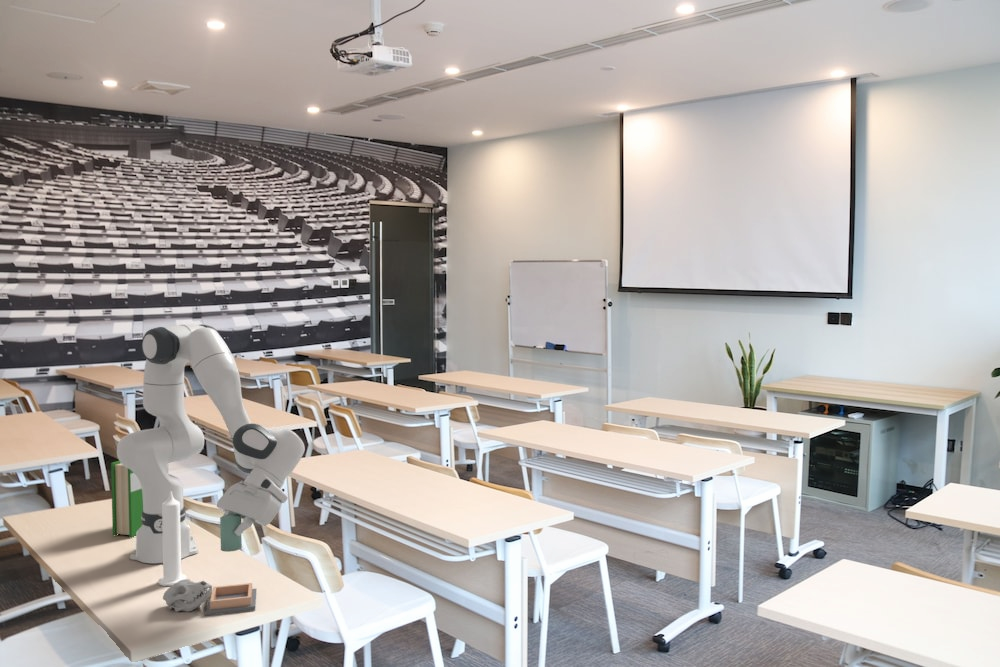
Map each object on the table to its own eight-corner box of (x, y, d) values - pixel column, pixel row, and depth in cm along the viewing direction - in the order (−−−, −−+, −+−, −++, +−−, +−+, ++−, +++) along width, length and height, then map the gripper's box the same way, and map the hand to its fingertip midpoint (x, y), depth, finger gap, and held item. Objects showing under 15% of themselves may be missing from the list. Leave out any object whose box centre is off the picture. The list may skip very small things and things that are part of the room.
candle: (176, 587, 200) (174, 495, 199) (152, 585, 202) (150, 494, 200) (191, 577, 207) (190, 488, 206) (169, 575, 209) (167, 487, 207)
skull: (172, 589, 193) (203, 560, 191) (192, 617, 191) (223, 588, 189) (151, 599, 185) (183, 569, 183) (172, 628, 184) (204, 598, 182)
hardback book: (131, 538, 240) (130, 464, 239) (112, 536, 242) (110, 463, 241) (169, 521, 257) (168, 453, 256) (151, 520, 259) (149, 451, 258)
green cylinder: (221, 545, 191) (220, 515, 191) (242, 544, 192) (241, 513, 192) (220, 552, 186) (219, 520, 186) (241, 550, 188) (240, 519, 187)
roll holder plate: (209, 597, 194) (209, 585, 194) (256, 592, 197) (256, 581, 197) (205, 615, 183) (205, 603, 183) (255, 610, 186) (255, 598, 186)
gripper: (231, 473, 200) (198, 517, 193) (277, 485, 188) (243, 533, 180) (246, 486, 204) (214, 530, 197) (292, 499, 191) (259, 546, 184)
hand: (228, 531), depth 189 cm, fingers closed on green cylinder, 5 cm apart
